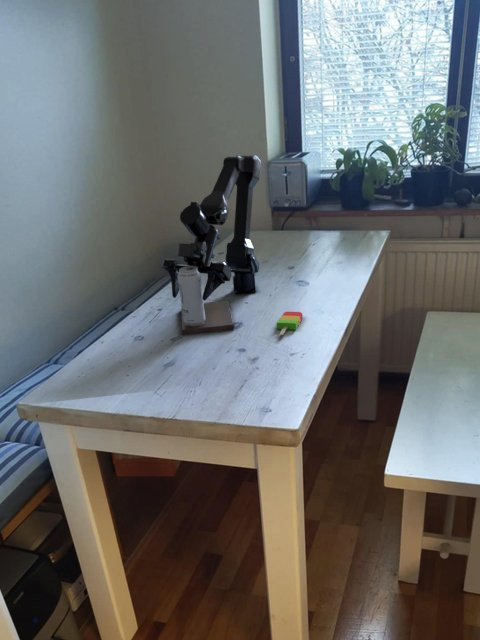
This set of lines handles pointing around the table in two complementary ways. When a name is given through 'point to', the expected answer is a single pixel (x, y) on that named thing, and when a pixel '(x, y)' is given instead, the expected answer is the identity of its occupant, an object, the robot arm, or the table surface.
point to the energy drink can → (191, 296)
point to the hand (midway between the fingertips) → (188, 298)
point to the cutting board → (212, 319)
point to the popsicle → (289, 321)
